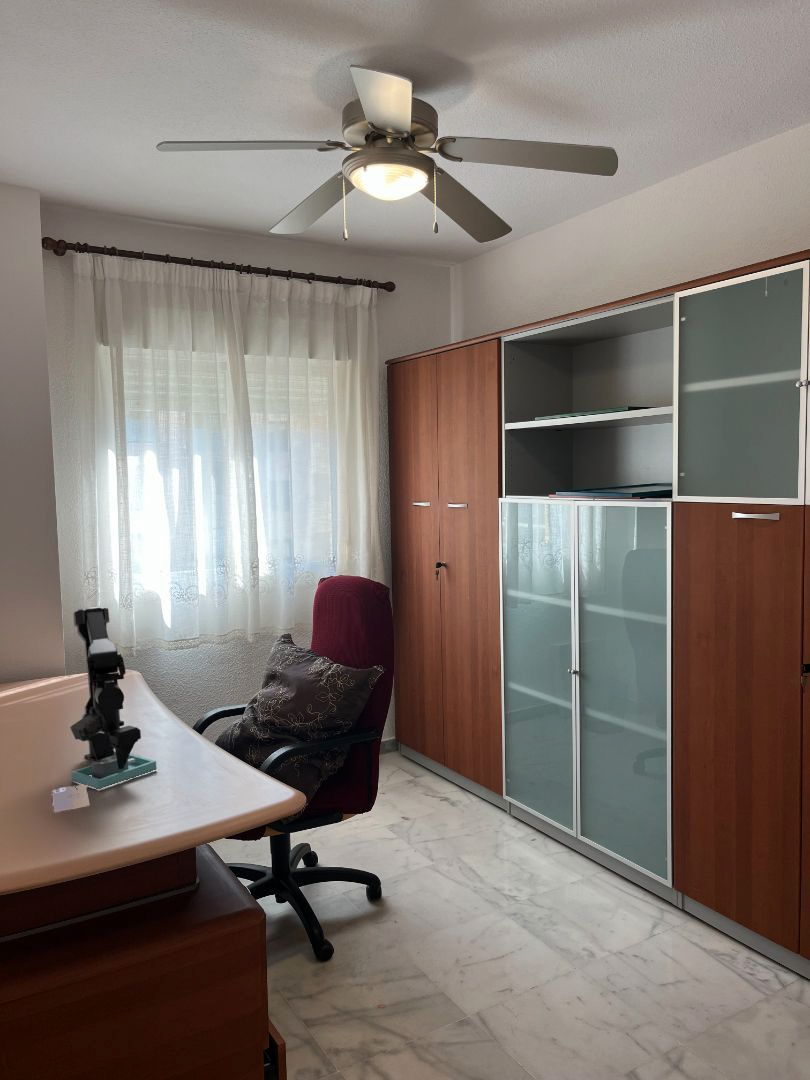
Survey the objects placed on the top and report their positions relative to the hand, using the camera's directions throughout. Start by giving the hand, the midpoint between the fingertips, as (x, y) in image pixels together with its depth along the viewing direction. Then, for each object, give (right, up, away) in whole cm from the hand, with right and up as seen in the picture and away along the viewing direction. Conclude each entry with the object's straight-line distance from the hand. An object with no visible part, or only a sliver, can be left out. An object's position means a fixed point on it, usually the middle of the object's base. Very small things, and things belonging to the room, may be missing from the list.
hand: (110, 765), depth 190 cm
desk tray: (+1, -3, +1) cm, 3 cm away
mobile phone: (-4, -5, -12) cm, 14 cm away
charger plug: (0, -3, 0) cm, 2 cm away
